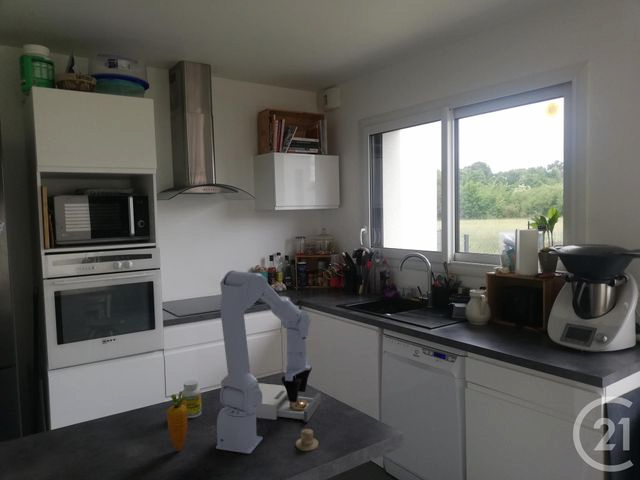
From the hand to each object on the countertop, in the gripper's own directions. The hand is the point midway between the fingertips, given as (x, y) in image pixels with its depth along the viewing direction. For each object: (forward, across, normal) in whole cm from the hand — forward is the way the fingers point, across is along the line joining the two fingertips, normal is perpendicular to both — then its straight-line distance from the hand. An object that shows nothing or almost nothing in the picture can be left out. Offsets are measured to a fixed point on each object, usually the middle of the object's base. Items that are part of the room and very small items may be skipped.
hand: (297, 396), depth 139 cm
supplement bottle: (+5, -10, +29) cm, 31 cm away
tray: (+4, 0, +1) cm, 4 cm away
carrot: (+5, -29, +21) cm, 36 cm away
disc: (+3, 0, 0) cm, 4 cm away
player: (+4, 0, +11) cm, 12 cm away
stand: (+5, -18, -9) cm, 20 cm away
